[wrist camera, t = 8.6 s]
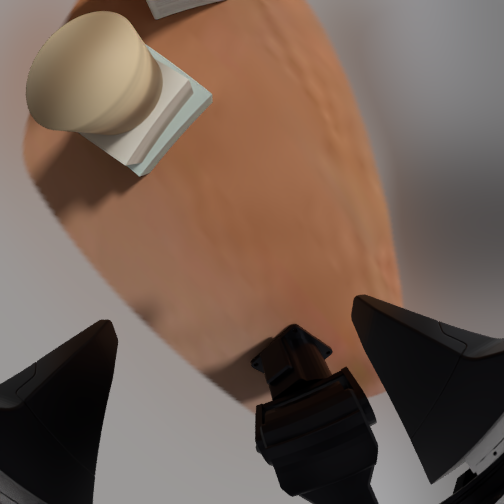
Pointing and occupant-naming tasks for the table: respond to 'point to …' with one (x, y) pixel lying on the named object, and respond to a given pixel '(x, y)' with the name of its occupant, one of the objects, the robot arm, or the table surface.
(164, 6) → the small box
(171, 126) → the sage base block
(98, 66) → the maple cylinder
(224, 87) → the table surface
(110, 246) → the table surface
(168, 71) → the cream top block
